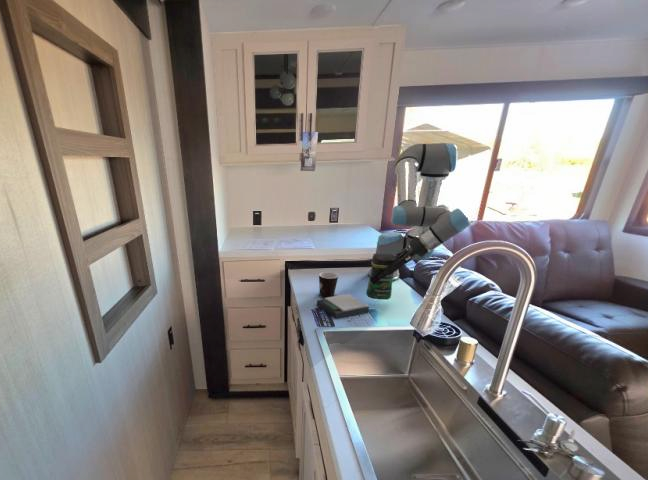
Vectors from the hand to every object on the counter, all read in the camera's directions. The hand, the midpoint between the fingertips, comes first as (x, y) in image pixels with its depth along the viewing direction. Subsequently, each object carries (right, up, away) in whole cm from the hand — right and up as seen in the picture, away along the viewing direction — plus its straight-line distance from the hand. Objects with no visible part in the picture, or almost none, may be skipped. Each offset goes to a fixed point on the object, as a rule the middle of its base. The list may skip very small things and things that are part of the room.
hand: (372, 277), depth 130 cm
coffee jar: (+3, -8, +2) cm, 9 cm away
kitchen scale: (-12, -13, +3) cm, 18 cm away
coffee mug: (-15, -7, +18) cm, 25 cm away
